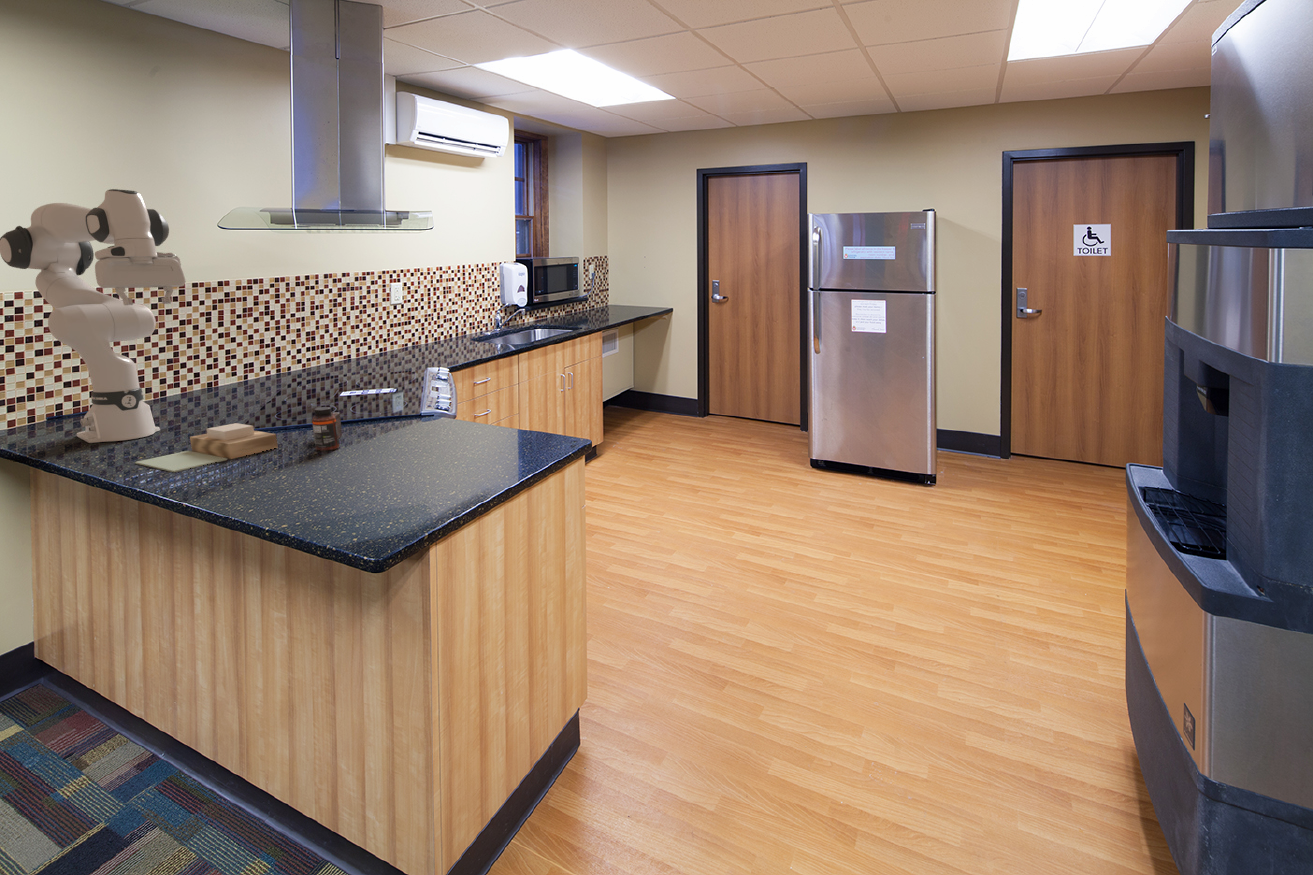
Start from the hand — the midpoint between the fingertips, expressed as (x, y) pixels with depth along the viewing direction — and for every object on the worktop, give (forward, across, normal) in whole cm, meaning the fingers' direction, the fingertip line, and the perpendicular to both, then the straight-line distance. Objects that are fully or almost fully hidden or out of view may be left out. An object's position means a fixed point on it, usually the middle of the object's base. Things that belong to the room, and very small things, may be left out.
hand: (148, 304), depth 192 cm
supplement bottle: (+44, -18, +39) cm, 61 cm away
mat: (+41, +8, +17) cm, 45 cm away
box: (+43, -26, +29) cm, 58 cm away
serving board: (+41, -6, +17) cm, 45 cm away
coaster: (+37, -5, +17) cm, 41 cm away
